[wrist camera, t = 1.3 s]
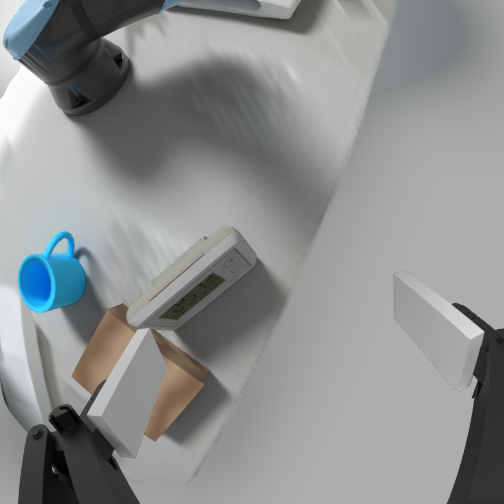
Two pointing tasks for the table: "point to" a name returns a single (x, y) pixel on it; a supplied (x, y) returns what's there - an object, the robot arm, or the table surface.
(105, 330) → the riser block
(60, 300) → the mug
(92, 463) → the robot arm
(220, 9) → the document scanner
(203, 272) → the digital clock
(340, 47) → the table surface
